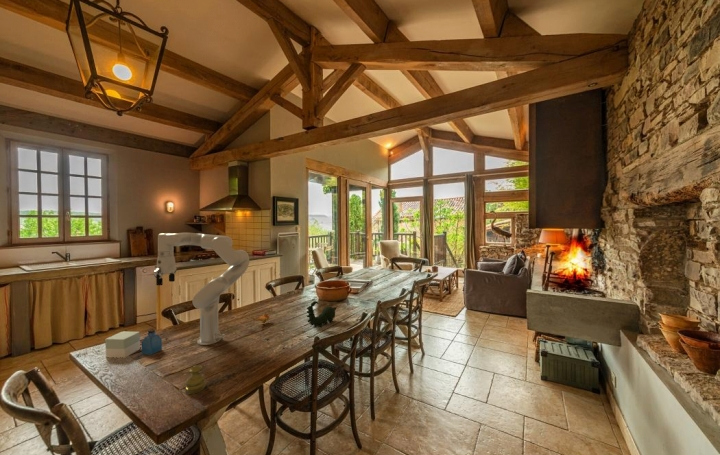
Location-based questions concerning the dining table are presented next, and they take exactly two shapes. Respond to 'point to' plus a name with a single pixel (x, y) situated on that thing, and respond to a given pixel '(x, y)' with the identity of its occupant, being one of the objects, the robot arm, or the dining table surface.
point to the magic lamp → (263, 317)
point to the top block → (122, 340)
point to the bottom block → (123, 351)
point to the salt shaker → (195, 380)
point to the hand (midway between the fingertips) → (165, 283)
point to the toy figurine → (326, 315)
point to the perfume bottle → (151, 343)
